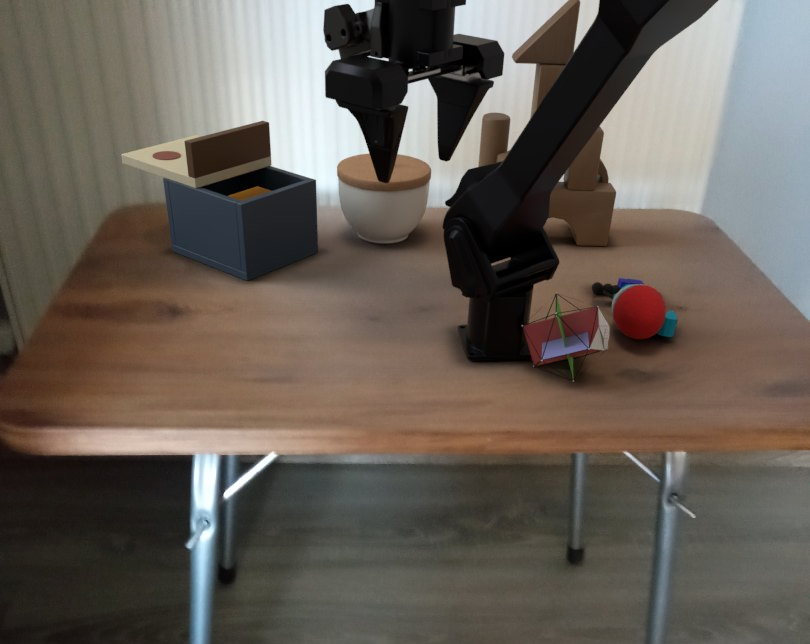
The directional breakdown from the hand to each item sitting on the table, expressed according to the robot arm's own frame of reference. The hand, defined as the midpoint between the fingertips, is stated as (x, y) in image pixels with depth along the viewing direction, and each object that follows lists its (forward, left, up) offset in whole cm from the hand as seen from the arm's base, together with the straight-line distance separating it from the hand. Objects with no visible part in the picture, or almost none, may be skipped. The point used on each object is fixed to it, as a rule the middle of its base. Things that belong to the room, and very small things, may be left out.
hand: (414, 170), depth 84 cm
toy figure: (-5, -22, -13) cm, 26 cm away
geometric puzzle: (-15, -12, -13) cm, 23 cm away
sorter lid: (+19, +22, -5) cm, 29 cm away
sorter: (+14, +17, -13) cm, 26 cm away
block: (+12, +15, -12) cm, 23 cm away
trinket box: (+19, +1, -13) cm, 23 cm away
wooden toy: (+18, -18, -13) cm, 29 cm away
